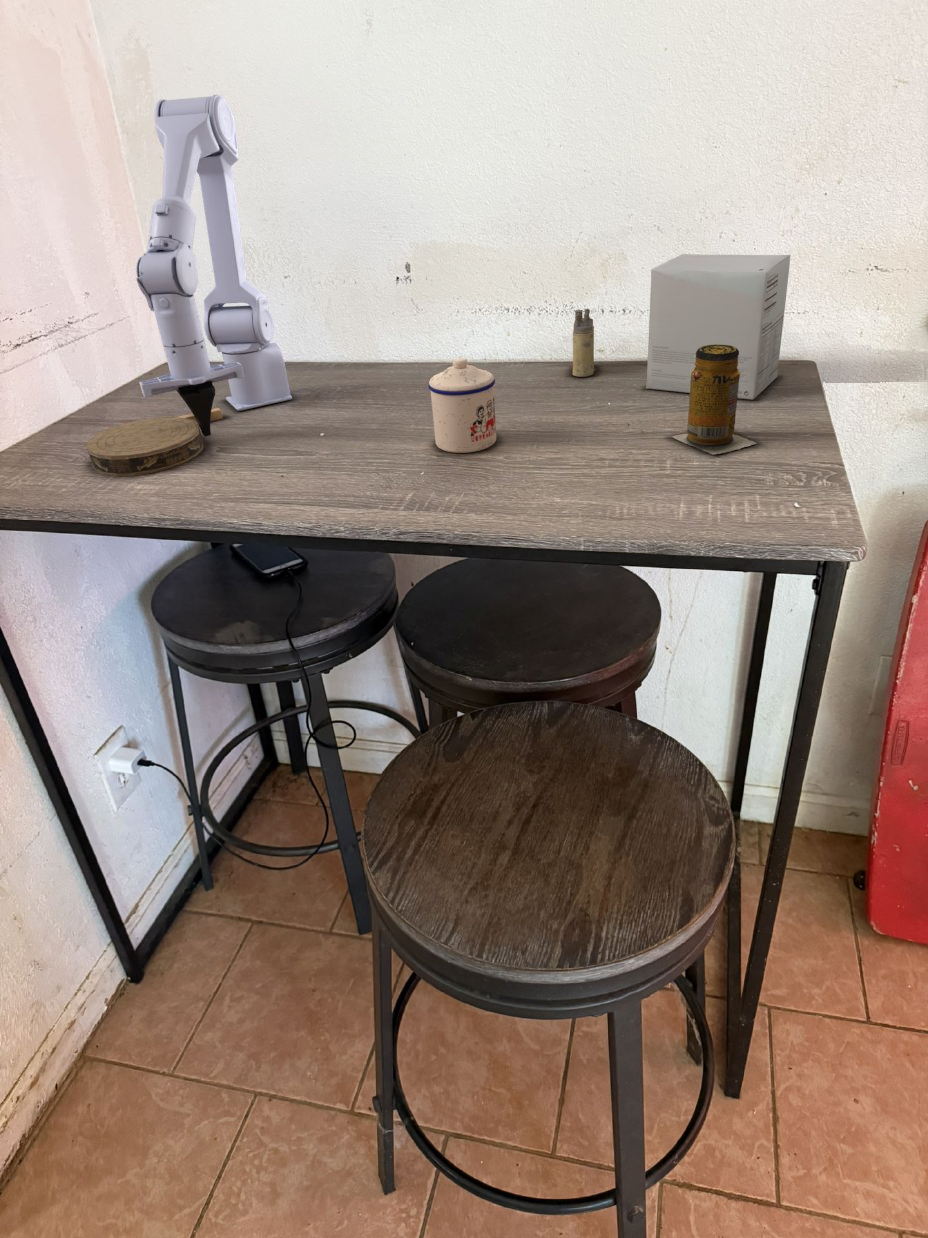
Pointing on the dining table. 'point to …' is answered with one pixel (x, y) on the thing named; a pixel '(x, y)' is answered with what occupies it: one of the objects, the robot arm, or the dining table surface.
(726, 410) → the condiment
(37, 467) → the dining table surface
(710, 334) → the supplement box
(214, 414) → the rail
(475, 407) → the teacup with lid
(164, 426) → the tin can
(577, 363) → the lighter
